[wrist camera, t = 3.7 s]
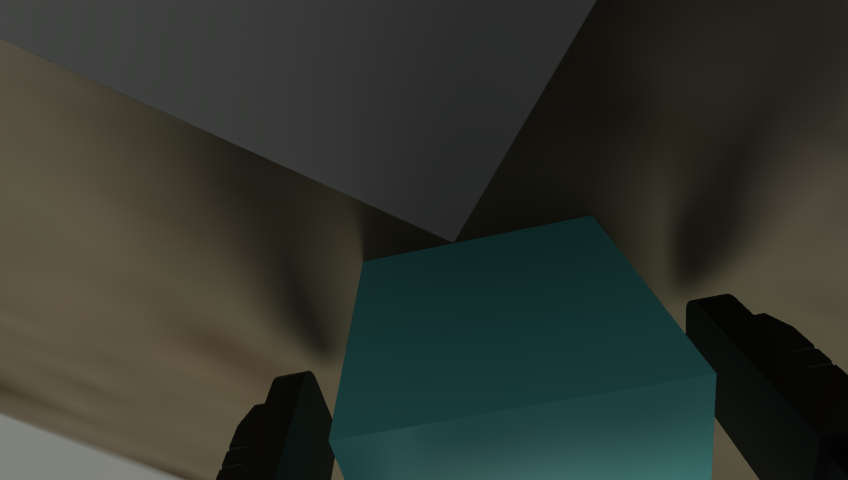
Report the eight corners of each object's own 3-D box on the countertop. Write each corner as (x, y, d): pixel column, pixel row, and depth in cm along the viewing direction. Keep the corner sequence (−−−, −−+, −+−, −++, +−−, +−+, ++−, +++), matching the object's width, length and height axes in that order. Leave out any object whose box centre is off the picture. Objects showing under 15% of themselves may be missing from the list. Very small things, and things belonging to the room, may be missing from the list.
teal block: (363, 259, 11) (328, 440, 7) (591, 213, 11) (716, 373, 6) (414, 421, 13) (413, 641, 9) (604, 388, 13) (705, 601, 8)
